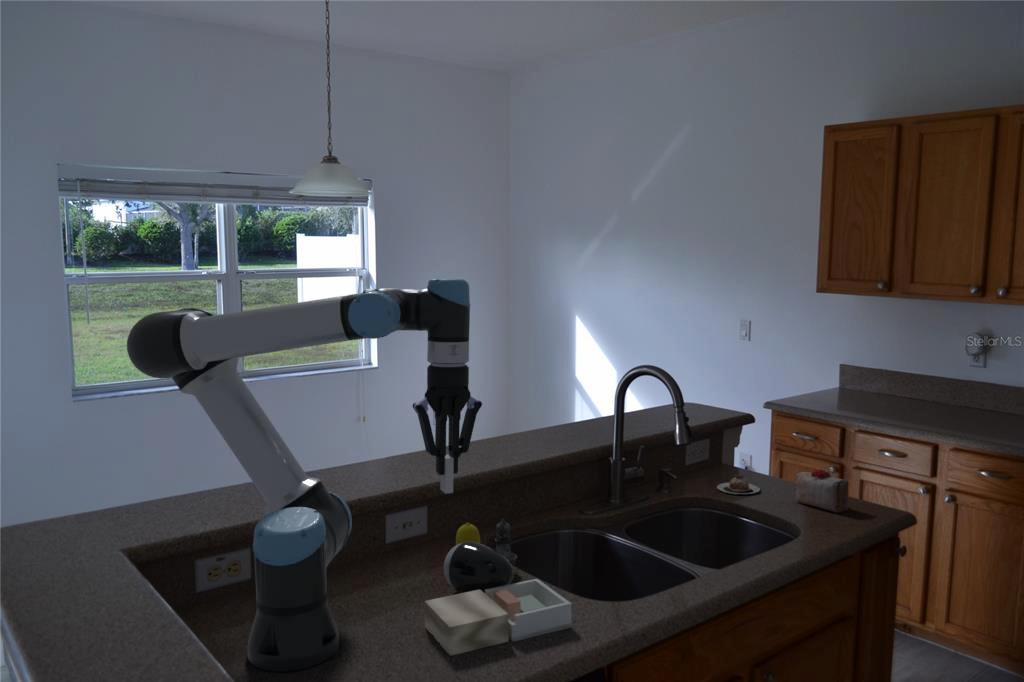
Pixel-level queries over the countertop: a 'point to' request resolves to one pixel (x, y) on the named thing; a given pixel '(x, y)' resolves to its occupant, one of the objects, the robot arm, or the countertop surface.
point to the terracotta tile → (507, 603)
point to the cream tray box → (466, 622)
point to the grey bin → (538, 620)
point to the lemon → (467, 534)
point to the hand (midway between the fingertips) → (446, 491)
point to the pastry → (738, 486)
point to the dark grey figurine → (505, 542)
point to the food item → (822, 491)
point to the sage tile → (529, 603)
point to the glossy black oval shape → (476, 568)
